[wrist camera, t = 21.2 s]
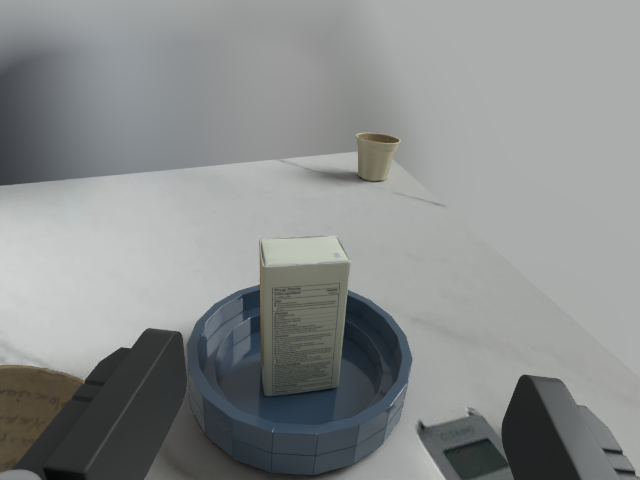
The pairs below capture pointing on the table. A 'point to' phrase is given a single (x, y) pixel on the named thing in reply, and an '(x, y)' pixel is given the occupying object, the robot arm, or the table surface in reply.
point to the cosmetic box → (302, 312)
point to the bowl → (29, 406)
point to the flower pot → (375, 155)
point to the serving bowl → (300, 408)
